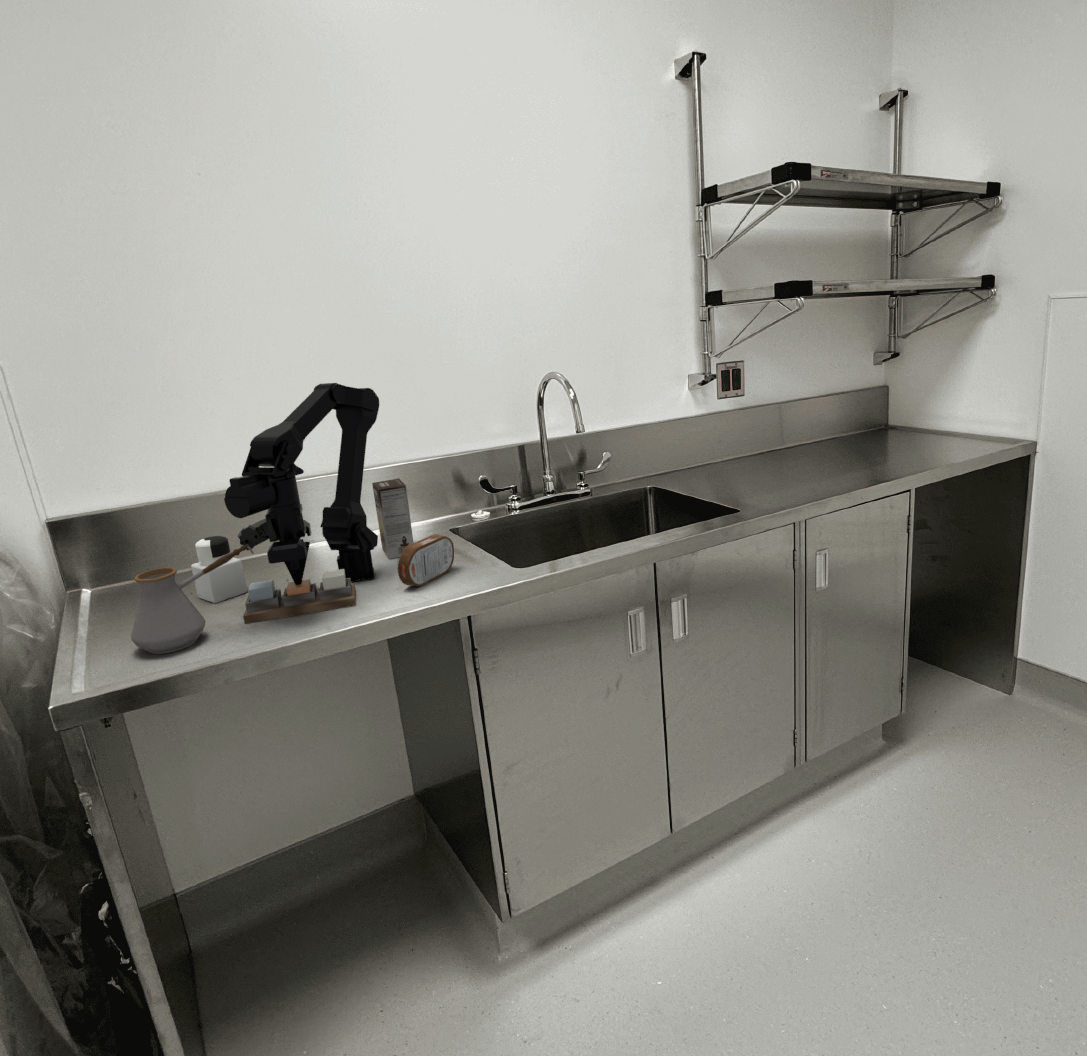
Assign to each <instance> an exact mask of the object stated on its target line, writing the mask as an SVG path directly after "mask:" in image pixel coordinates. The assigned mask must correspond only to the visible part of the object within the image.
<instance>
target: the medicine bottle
mask: <svg viewBox="0 0 1087 1056" xmlns="http://www.w3.org/2000/svg"><path fill="white" fill-rule="evenodd" d="M194 546H195V551H196V555H197V561H198V562H195V563H192V564H191V566H190V568H191V572H192V576H193V575H195V574H197V573H199V572H200V571H202V570H203V569H204V568H206V567H207V566H209V565H210V564H212V563H213V562H215V561H216V560H218V559H219V558H221V557H222V556H225V555H227V554H229V553H232V552H231V548H230V543H229V539H228V538H227V537H226V536H222V535H214V536H212V535H211V536H207V537H204V538H202V539H199V540H198V541H197V542H195V544H194ZM193 582H194V585H195V591H196V594H197V598H200V599H202V600H204V601H207V602H211V603H214V604H217V603H221V602H222V601H226V600H229V599H232V598H234V597H238V596H240V595H243V594H245V593H247V592H248V587H247V582H246V577H245V573H244V568H243V563H242V559H240V558H236V557H233V558H232V559H230V560H229V561H228V562H227V563H225V564H223V565H221V566H219V567H217V568H216V569H214V570H212V571H210V572H208V573H206V574H204V575H202V576H201V577H199V578H198V579H196V580H194V581H193Z"/></svg>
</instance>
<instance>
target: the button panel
mask: <svg viewBox="0 0 1087 1056" xmlns="http://www.w3.org/2000/svg"><path fill="white" fill-rule="evenodd" d="M346 582H347V587H341V588H335V589H329V590H324V588H323V582H322V581H321V582H320V583H319V589H317V588H318V587H317V583H315V582H314V583H311V587H312V592H310V593H304V594H297V595H291V596H287V590H286V589H287V587H285V588H284V591H283V594H282V590H281V588H277V589H276V588H275V591H276V596H275V598H272V599H266V600H259V601H253V602H250V597H249V594H248V596H247V598H246V601H245V604H244V605H245V610H244V613H243V616H242V618H243V621H244V622H243V623H244V624H245V625H246V624H247V625H248V624H251V623H258V622H263V621H271V620H277V619H281V618H288V617H294V616H299V615H306V614H313V613H319V612H323V611H325V610H326V611H331V610H330V609H332V610H336V609H342V608H343V609H344V608H349V606H350V607H355V606H354V605H356V604H357V601H356V599H357V597H356V594H357V591H356V586H355V583H352V582H351V579H350V578H346ZM356 606H357V605H356ZM326 611H325V612H326Z"/></svg>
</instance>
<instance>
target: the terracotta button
mask: <svg viewBox="0 0 1087 1056" xmlns="http://www.w3.org/2000/svg"><path fill="white" fill-rule="evenodd" d="M311 584H312V583H311V579H304V580H303V579H302V584H300V585H295V583H294V581H291V582H287V586H286V588H287V589H286V590H287V596H291V595H297V594H304V593H310V592H312V587H311Z"/></svg>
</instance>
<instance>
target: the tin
mask: <svg viewBox="0 0 1087 1056" xmlns="http://www.w3.org/2000/svg"><path fill="white" fill-rule="evenodd" d="M454 560H455V548H454V542H453V540H452V539H451V538H450V537H449V536H445V535H441V534H439V533H433V534H431V535H428V536H426V537H424V538H423V539H420V540H417V541H414V543H412V544H410V545H408V546H407V547H406V548H405V549H404V550H403V552H402V553H401V555H400V557H398V561H397V574H398V578H399V581H401V584H402V583H403V584H404V585H405V586H410V587H411V586H412V587H422V586H424V585H427V584H428V583H430V582H433V581H434V580H436V579H438V578H441V577H442V576H444V575H446V574H447V573H448V572H449V571H450V570H451V568H452V567H453V564H454Z"/></svg>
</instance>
